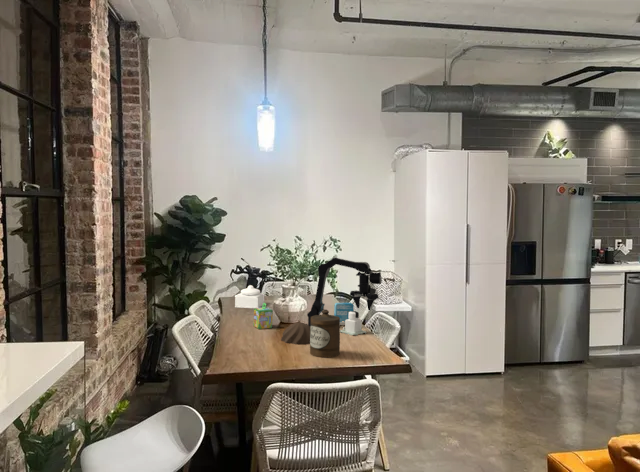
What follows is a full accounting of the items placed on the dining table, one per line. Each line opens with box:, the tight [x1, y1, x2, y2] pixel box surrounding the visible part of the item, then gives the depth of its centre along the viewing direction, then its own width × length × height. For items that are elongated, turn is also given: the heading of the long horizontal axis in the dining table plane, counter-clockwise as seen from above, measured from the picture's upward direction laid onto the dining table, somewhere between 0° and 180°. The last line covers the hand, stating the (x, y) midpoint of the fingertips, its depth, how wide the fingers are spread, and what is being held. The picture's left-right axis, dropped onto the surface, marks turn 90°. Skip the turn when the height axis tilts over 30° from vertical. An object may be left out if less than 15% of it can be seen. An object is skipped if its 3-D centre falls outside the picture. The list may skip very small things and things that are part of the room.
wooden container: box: [309, 309, 341, 358], centre depth 244 cm, size 15×15×22 cm
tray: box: [340, 329, 367, 336], centre depth 290 cm, size 11×11×1 cm
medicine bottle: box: [344, 310, 363, 333], centre depth 290 cm, size 7×7×12 cm
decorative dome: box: [280, 321, 311, 345], centre depth 271 cm, size 19×20×10 cm
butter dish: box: [234, 284, 265, 309], centre depth 371 cm, size 18×18×16 cm
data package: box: [333, 302, 355, 322], centre depth 322 cm, size 12×4×12 cm, turn 101°
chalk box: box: [253, 302, 274, 330], centre depth 299 cm, size 9×9×15 cm
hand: (363, 309), depth 295 cm, fingers open, 9 cm apart
